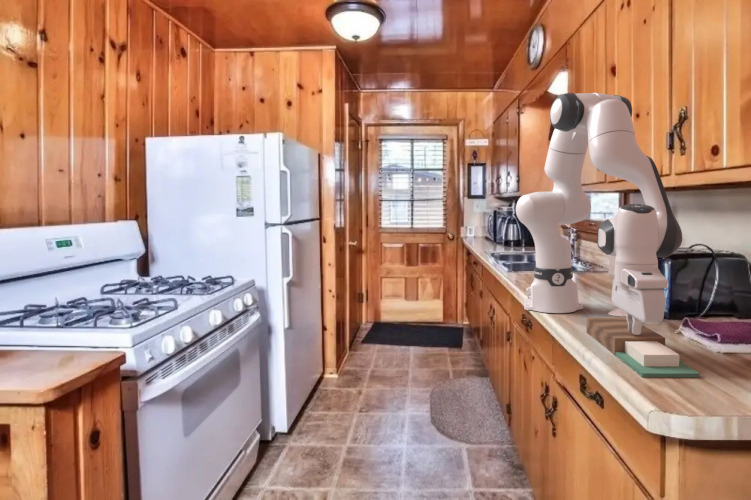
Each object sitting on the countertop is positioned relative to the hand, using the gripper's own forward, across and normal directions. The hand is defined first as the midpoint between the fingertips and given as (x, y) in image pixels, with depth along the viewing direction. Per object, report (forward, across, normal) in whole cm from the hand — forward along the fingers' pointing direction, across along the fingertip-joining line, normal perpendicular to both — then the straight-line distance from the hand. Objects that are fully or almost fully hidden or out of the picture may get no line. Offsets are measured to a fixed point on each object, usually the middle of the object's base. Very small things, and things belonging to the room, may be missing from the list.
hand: (634, 332), depth 113 cm
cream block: (+4, +8, 0) cm, 8 cm away
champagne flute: (+5, -39, +11) cm, 41 cm away
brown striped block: (+5, -8, 0) cm, 9 cm away
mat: (+4, +10, 0) cm, 11 cm away
